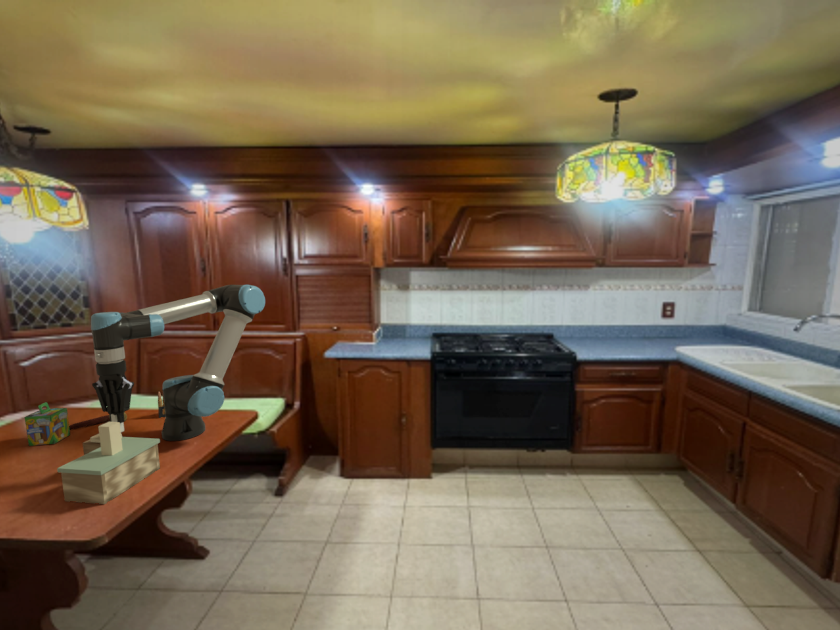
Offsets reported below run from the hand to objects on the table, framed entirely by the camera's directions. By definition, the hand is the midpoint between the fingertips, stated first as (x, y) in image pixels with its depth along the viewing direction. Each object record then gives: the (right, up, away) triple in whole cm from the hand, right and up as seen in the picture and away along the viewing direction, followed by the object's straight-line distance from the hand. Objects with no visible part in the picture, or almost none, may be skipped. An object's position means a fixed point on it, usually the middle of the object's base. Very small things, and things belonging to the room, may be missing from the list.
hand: (118, 432), depth 129 cm
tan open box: (-1, -14, -5) cm, 15 cm away
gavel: (-41, -9, +42) cm, 60 cm away
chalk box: (-46, -11, +26) cm, 54 cm away
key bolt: (-5, -3, +1) cm, 6 cm away
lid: (+3, -6, -7) cm, 10 cm away
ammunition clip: (-15, -8, +52) cm, 54 cm away
